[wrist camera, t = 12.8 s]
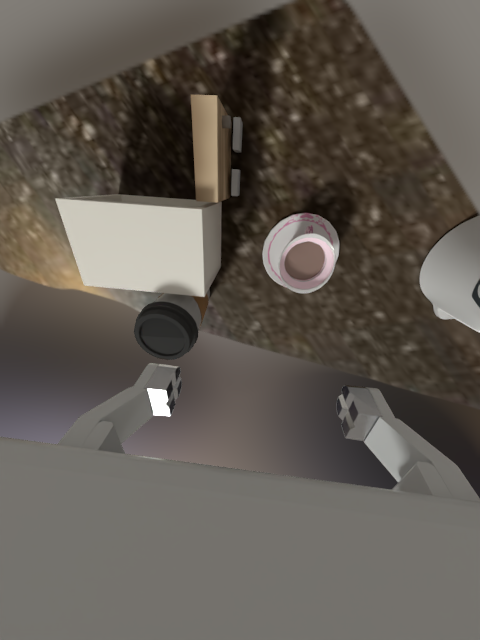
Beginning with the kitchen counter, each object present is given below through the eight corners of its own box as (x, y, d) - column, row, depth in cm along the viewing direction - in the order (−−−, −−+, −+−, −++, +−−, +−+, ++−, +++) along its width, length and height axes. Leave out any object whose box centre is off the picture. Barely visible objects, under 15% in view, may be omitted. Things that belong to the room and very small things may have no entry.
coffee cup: (168, 268, 40) (121, 308, 27) (214, 269, 39) (189, 311, 26) (175, 309, 44) (138, 360, 31) (217, 311, 43) (197, 364, 30)
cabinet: (242, 123, 28) (229, 89, 18) (235, 268, 38) (224, 298, 28) (102, 116, 29) (15, 79, 19) (131, 259, 39) (84, 285, 29)
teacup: (329, 288, 39) (339, 305, 33) (260, 286, 40) (259, 301, 34) (347, 212, 32) (362, 218, 27) (264, 211, 33) (264, 216, 28)
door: (237, 122, 28) (225, 95, 20) (235, 198, 33) (224, 203, 24) (213, 121, 28) (190, 94, 20) (214, 196, 33) (196, 201, 24)
